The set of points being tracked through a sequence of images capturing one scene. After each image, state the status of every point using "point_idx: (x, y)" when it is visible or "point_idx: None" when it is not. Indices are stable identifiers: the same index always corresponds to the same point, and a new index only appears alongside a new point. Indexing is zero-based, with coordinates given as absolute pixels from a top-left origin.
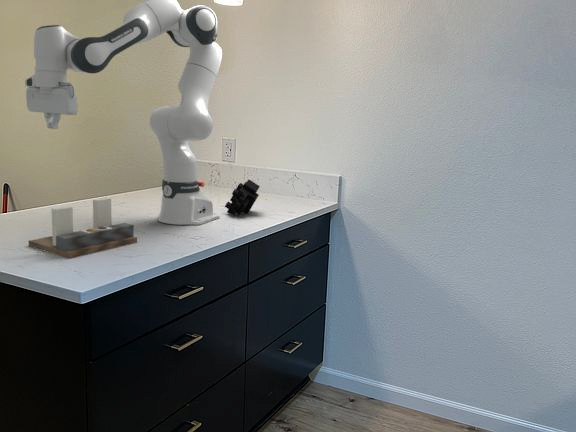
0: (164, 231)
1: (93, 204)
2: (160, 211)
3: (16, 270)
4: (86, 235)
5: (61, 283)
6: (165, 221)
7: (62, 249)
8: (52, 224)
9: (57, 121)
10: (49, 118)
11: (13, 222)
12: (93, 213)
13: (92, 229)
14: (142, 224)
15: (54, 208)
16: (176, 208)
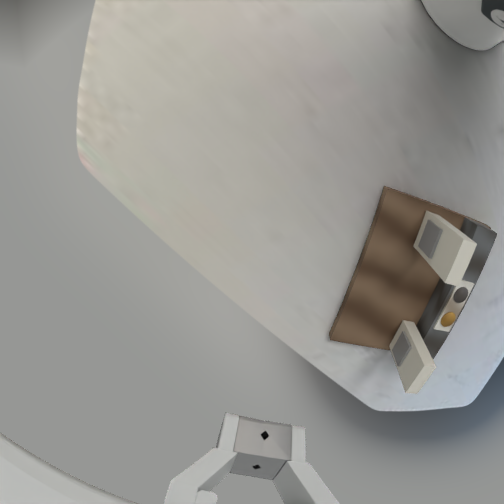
0: (492, 115)
1: (441, 277)
2: (439, 4)
3: (385, 404)
4: (447, 335)
5: (447, 403)
6: (463, 43)
7: None
8: (399, 371)
9: (312, 481)
10: (207, 487)
11: (150, 206)
12: (431, 266)
13: (450, 317)
14: (425, 65)
15: (409, 388)
16: (500, 36)
